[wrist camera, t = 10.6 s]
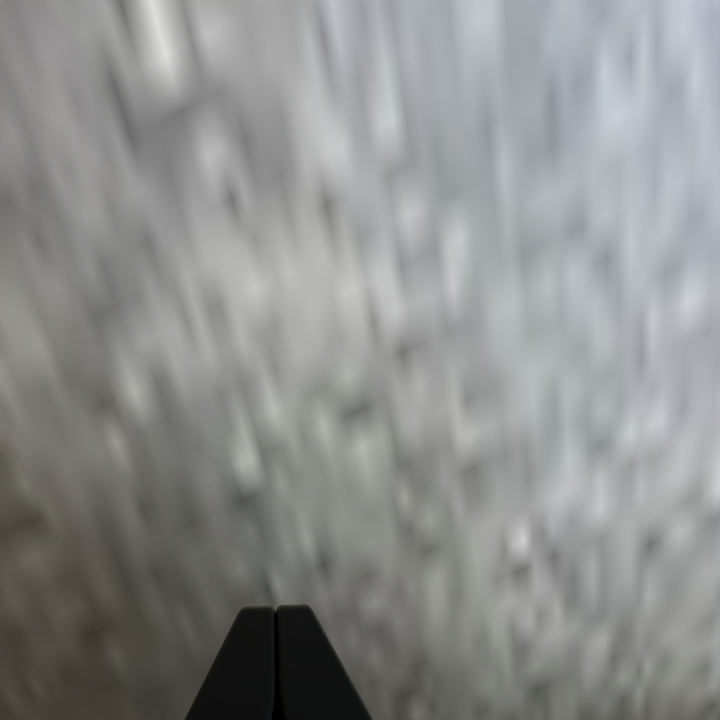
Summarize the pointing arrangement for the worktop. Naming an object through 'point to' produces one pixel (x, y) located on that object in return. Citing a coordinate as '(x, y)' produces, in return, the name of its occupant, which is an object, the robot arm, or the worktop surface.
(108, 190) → the worktop surface
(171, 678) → the worktop surface
